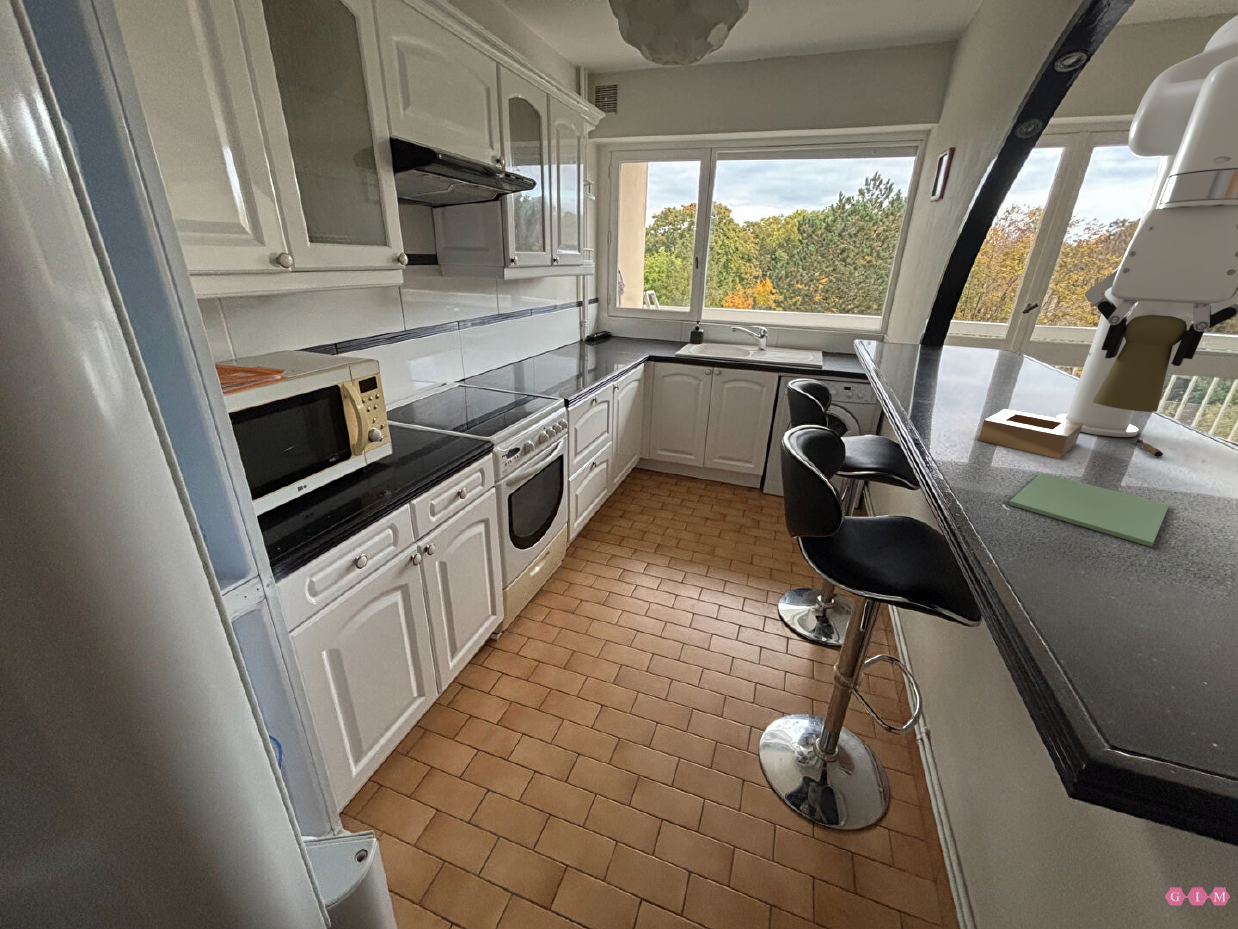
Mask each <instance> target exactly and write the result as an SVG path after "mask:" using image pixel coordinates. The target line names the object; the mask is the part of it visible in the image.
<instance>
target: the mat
mask: <svg viewBox="0 0 1238 929" xmlns="http://www.w3.org/2000/svg"><path fill="white" fill-rule="evenodd" d="M1008 505H1009V506H1013V507H1015V508H1019V509H1023V510H1026V511H1028V512H1032V513H1036V514H1039V515H1041V516H1046V517H1049V518H1053V519H1056V520H1059V521H1062V522H1065V523H1070V524H1073V525H1077V526H1079V527H1083V528H1085V529H1086V528H1087V529H1090V530H1092V531H1097V532H1099V533H1103V534H1106V535H1110V536H1113V537H1116V538H1120V539H1123V540H1127V541H1129V542H1133V543H1137V544H1140V545H1143V546H1147V547H1150V548H1151V547H1153V545H1154V543H1155V541H1156V538H1157V536H1158V533H1159V531H1160V528H1161V527H1162V524H1163V521H1164V519H1165V517H1166V515H1167V512H1168V511H1169V508H1170V504H1168V503H1164V502H1160V501H1156V500H1152V499H1149V498H1144V497H1140V496H1136V495H1132V494H1128V493H1124V492H1120V491H1117V490H1112V489H1109V488H1106V487H1105V488H1104V487H1101V486H1098V485H1092V484H1088V483H1084V482H1080V481H1076V480H1072V479H1069V478H1064V477H1060V476H1058V475H1057V476H1056V475H1052V474H1049V473H1044V472H1041V473H1039V474H1038V475H1037V476H1036V477H1035V478H1034V479H1032V480H1031V482H1030V483H1028V484H1027V485H1026V486H1024V488H1022V489H1021V490H1020V491H1019V492H1018V493H1017V494H1016V495H1015V496H1014V497H1012V499H1010V500H1009V502H1008Z"/></svg>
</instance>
